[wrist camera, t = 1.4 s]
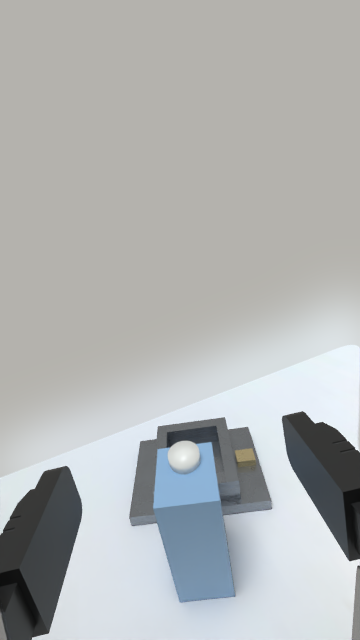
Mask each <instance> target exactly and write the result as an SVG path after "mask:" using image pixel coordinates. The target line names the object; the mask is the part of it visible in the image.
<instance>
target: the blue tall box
mask: <svg viewBox="0 0 360 640" xmlns="http://www.w3.org/2000/svg"><path fill="white" fill-rule="evenodd" d="M153 510H154V513H155V517H156V520H157V524H158V527H159V531H160V534H161V538H162V541H163V545H164V548H165V552H166V555H167V559H168V562H169V566H170V569H171V573H172V576H173V580H174V583H175V587H176V590H177V594H178V597H179V601H180V602H187V601H196V600H206V599H215V598H225V597H234V596H235V593H234V586H233V579H232V572H231V565H230V559H229V552H228V545H227V538H226V532H225V525H224V519H223V512H222V506H221V500H220V493H219V487H218V481H217V474H216V468H215V462H214V455H213V449H212V442H208V443H200V444H195V443H193V442H191V441H180V442H177V443H175V444H174V445H173V446H171V447H170V448H162V449H158V451H157V464H156V477H155V491H154V504H153Z"/></svg>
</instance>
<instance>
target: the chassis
mask: <svg viewBox="0 0 360 640" xmlns="http://www.w3.org/2000/svg"><path fill="white" fill-rule="evenodd" d="M180 441H191V442H193V443H195V444H200V443H208V442H212V449H213V455H214V462H215V468H216V474H217V481H218V487H219V493H220V500H221V506H222V512H223V515H225V514H234V513H242V512H250V511H259V510H267V509H272V506H271V499H270V495H269V492H268V489H267V486H266V483H265V479H264V476H263V473H262V470H261V467H260V464H259V460H258V457H257V454H256V451H255V448H254V444H253V441H252V438H251V435H250V432H249V429H248V427H244V428H237V429H229V430H228V429H227V425H226V420H225V417H224V418H217V419H209V420H202V421H195V422H187V423H180V424H173V425H166V426H158V431H157V439H155V440H147V441H141V442H140V448H139V455H138V462H137V469H136V476H135V482H134V489H133V496H132V503H131V509H130V516H129V518H130V521H131V524H132V526H134V525H142V524H150V523H157V520H156V517H155V513H154V510H153V504H154V491H155V477H156V464H157V451H158V449H162V448H170V447H171V446H173V445H174V444H175V443H177V442H180Z"/></svg>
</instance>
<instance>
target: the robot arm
mask: <svg viewBox="0 0 360 640" xmlns="http://www.w3.org/2000/svg"><path fill="white" fill-rule="evenodd" d="M282 423H283V430H284V437H285V443H286V450H287V455H288V458H289V461H290V464H291V466H292V468H293V470H294V472H295V473H296V475H297V477H298V478H299V480H300V482H301V483H302V485H303V487H304V488H305V490H306V491H307V493H308V495H309V496H310V498H311V500H312V501H313V503H314V504H315V506H316V508H317V509H318V511H319V513H320V514H321V516H322V518H323V519H324V521H325V522H326V524H327V526H328V527H329V529H330V531H331V532H332V534H333V536H334V537H335V539H336V540H337V542H338V544H339V545H340V547H341V549H342V550H343V552H344V553H345V555H346V557H347V558H348V560H349V561H353V560H357V559H360V452H359V451H358V450H355V447H354V446H353V445H352V444H351V443H350V442H349V441H348V442H347V440H346V438H345V437H344V436H343V435H342V434H341V433H340V432H339V431H338V430H337V429H335V428H333V427H331V426H329V425H327V424H325V423H323V422H320V423H316V424H315V423H314V422H313V421H312V420H311V419H310V418H309V417H308V416H307V415H306V413H305V412H303V411H302V412H298V413H294V414H289V415H285V416H283V417H282ZM81 517H82V503H81V499H80V496H79V493H78V491H77V488H76V485H75V482H74V480H73V477H72V474H71V471H70V469H69V468H68V467H67V466H64V467H60V468H56V469H51V470H47V471H45V472H44V473H43V474H42V476H41V478H40V480H39V482H38V484H37V486H36V488H35V489H32V490H30V491H29V492H28V493H27V494H26V495H25V496H24V497H23V498H22V500H21V501H20V502H19V503H18V504H17V506H16V508H15V509H14V511H13V513H12V515H11V517H10V521H8V522H7V524H6V526H5V528H4V529H3V533H1V535H0V640H32V637H36V636H40V635H44V634H48V633H49V631H50V627H51V624H52V620H53V617H54V613H55V610H56V606H57V603H58V599H59V596H60V592H61V589H62V585H63V582H64V578H65V575H66V571H67V568H68V564H69V560H70V557H71V553H72V550H73V546H74V543H75V539H76V536H77V532H78V529H79V525H80V522H81ZM352 640H360V566H358V567H357V573H356V586H355V600H354V615H353V629H352Z"/></svg>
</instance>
